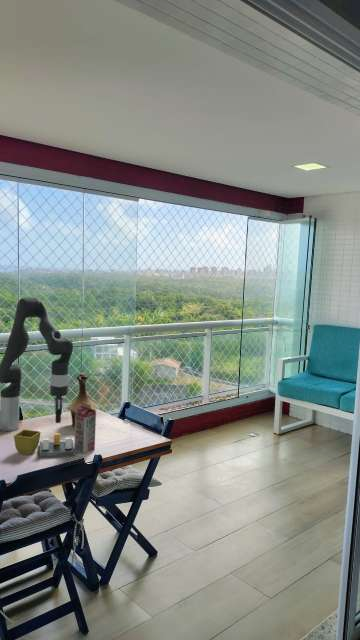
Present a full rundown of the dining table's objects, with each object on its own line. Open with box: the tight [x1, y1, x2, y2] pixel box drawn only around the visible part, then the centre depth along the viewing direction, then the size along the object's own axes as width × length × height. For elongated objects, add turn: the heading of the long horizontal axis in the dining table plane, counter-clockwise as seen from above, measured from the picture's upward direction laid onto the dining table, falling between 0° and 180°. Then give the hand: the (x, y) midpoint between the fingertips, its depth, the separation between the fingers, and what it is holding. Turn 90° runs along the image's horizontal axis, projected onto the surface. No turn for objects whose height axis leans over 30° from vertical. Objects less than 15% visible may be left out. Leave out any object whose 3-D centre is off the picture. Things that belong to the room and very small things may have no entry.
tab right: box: [65, 437, 73, 449], centre depth 222 cm, size 3×2×4 cm
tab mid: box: [53, 433, 61, 445], centre depth 227 cm, size 3×2×4 cm
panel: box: [39, 439, 75, 459], centre depth 225 cm, size 15×16×2 cm
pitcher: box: [66, 372, 100, 428], centre depth 262 cm, size 18×17×28 cm
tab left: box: [42, 437, 50, 450], centre depth 220 cm, size 3×2×4 cm
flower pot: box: [13, 429, 42, 456], centre depth 220 cm, size 9×9×9 cm
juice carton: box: [73, 402, 97, 454], centre depth 226 cm, size 7×7×22 cm
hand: (58, 422), depth 215 cm, fingers closed
